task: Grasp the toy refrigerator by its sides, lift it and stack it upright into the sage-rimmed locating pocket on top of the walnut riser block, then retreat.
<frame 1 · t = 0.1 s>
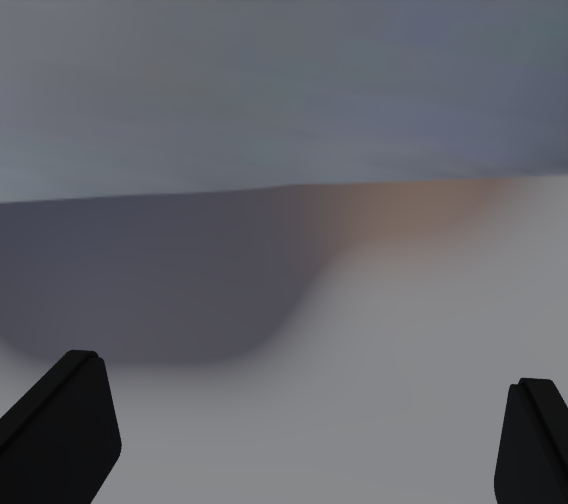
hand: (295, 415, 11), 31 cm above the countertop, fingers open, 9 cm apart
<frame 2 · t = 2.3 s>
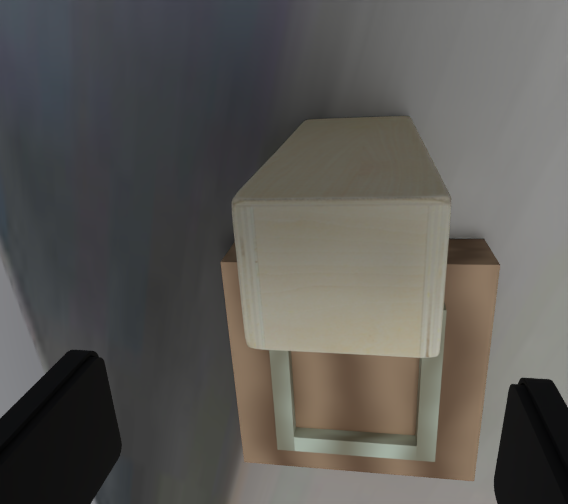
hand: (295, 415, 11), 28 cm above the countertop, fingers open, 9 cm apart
toy refrigerator: (355, 165, 37), on the countertop
walnut riser: (355, 343, 43), on the countertop
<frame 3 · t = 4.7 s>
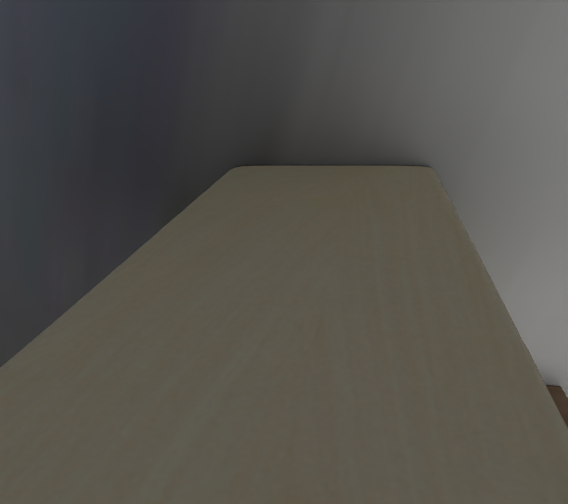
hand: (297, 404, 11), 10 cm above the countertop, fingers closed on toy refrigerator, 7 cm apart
toy refrigerator: (328, 250, 20), on the countertop, touching gripper
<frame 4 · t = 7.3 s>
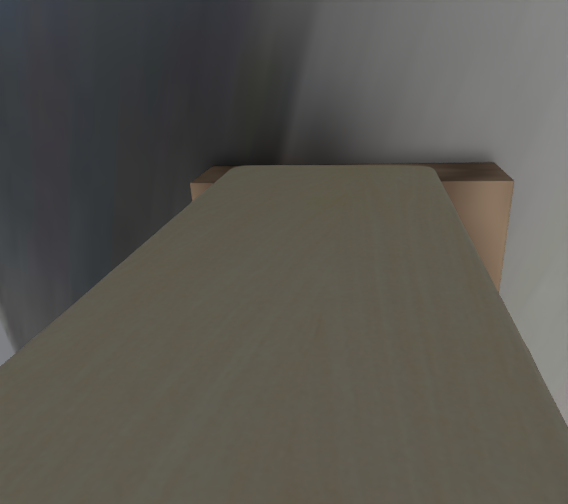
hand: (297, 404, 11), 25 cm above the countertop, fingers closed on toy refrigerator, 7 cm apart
toy refrigerator: (327, 249, 20), point 16 cm above the countertop, touching gripper
walnut riser: (346, 288, 38), on the countertop
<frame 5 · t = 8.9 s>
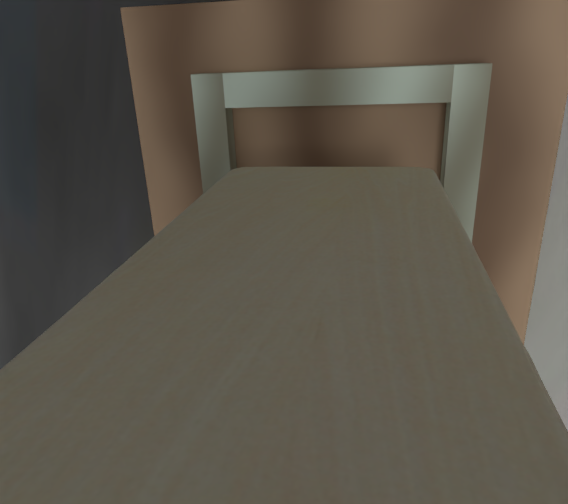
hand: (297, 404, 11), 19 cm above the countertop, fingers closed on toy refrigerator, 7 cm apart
toy refrigerator: (327, 251, 20), point 10 cm above the countertop, touching gripper
walnut riser: (340, 189, 29), on the countertop
when the fingers open (17 cm above the countertop, at t = 10.0 s): toy refrigerator drops 2 cm, resting on walnut riser.
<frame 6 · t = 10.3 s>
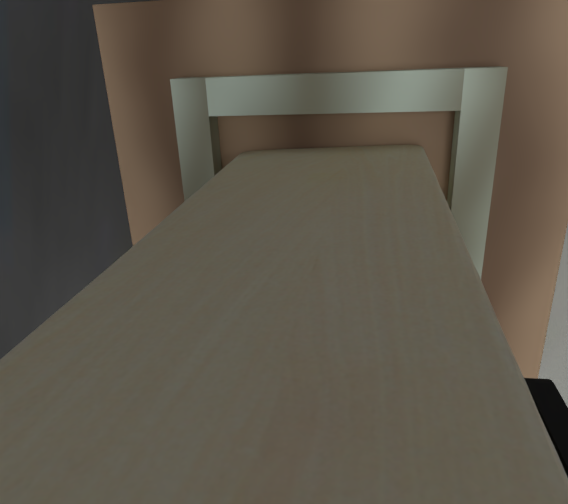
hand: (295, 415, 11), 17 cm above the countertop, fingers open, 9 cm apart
toy refrigerator: (330, 225, 22), point 5 cm above the countertop, touching walnut riser
walnut riser: (337, 202, 27), on the countertop
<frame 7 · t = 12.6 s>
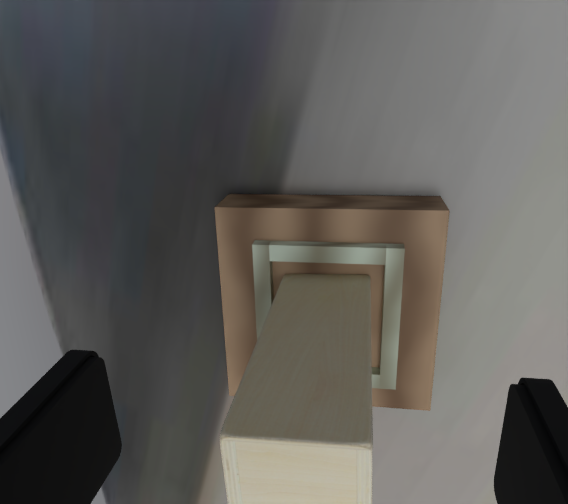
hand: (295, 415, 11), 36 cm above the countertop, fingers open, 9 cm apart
toy refrigerator: (326, 309, 45), point 5 cm above the countertop, touching walnut riser
walnut riser: (330, 290, 49), on the countertop
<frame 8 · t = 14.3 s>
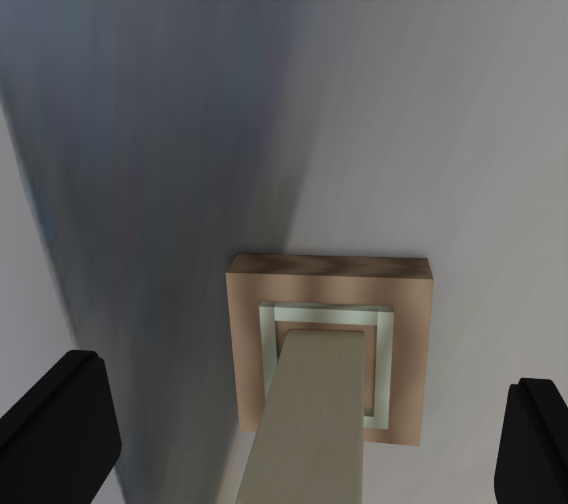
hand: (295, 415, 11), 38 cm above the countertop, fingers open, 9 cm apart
toy refrigerator: (325, 359, 50), point 5 cm above the countertop, touching walnut riser
walnut riser: (329, 337, 55), on the countertop
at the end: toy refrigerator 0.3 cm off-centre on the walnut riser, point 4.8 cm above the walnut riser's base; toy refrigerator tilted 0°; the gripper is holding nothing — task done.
